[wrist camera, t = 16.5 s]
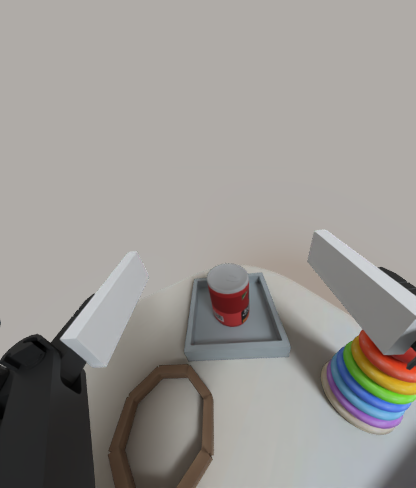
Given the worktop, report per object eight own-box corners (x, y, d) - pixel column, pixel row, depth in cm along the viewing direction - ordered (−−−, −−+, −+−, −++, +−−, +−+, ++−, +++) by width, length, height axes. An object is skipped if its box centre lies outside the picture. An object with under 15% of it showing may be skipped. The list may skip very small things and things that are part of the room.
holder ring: (96, 513, 18) (87, 513, 17) (141, 371, 30) (137, 366, 29) (213, 519, 17) (211, 520, 16) (213, 368, 28) (211, 363, 27)
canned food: (251, 329, 32) (250, 291, 26) (212, 327, 34) (203, 291, 28) (248, 298, 38) (247, 262, 33) (215, 297, 40) (208, 263, 34)
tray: (188, 361, 30) (184, 351, 28) (196, 287, 45) (194, 278, 43) (288, 356, 28) (290, 346, 26) (261, 282, 43) (262, 272, 42)
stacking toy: (316, 354, 28) (350, 273, 18) (379, 374, 24) (460, 288, 15) (323, 415, 22) (379, 343, 12) (406, 452, 18) (575, 394, 9)
